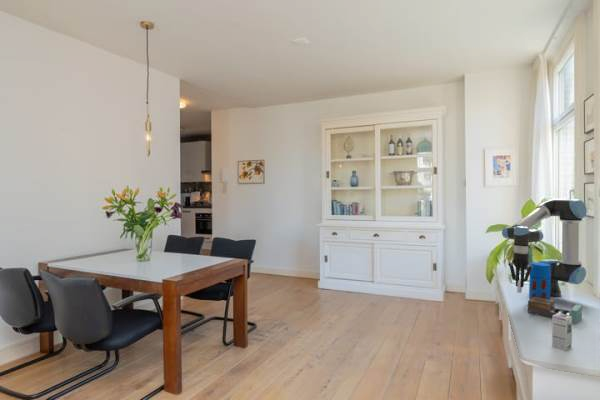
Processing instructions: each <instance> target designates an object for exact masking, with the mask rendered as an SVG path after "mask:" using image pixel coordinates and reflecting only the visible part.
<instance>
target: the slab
mask: <svg viewBox="0 0 600 400" xmlns="http://www.w3.org/2000/svg"><path fill="white" fill-rule="evenodd" d="M527 308H532V309H536V310H541V311H546V312H549V311H550V310H552V309H553V308H555V300H554V299H550V300H549V299H544V298H539V297H533V298H531V299H530V300H529V299H528V300H527Z"/></svg>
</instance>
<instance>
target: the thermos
mask: <svg viewBox="0 0 600 400" xmlns="http://www.w3.org/2000/svg"><path fill="white" fill-rule="evenodd" d="M529 264H530V265H531V266H533V268H532V269H531V271H530V274H529V284H528V285H529V288H528V289H529V291H528V292H529V293H528V297H529V298H528V300H530V299H531V298H533V297H539V298H544V299H549V300H551V296H550V284H551V265H550V264H546V263H538V261H537V262H529Z"/></svg>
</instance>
